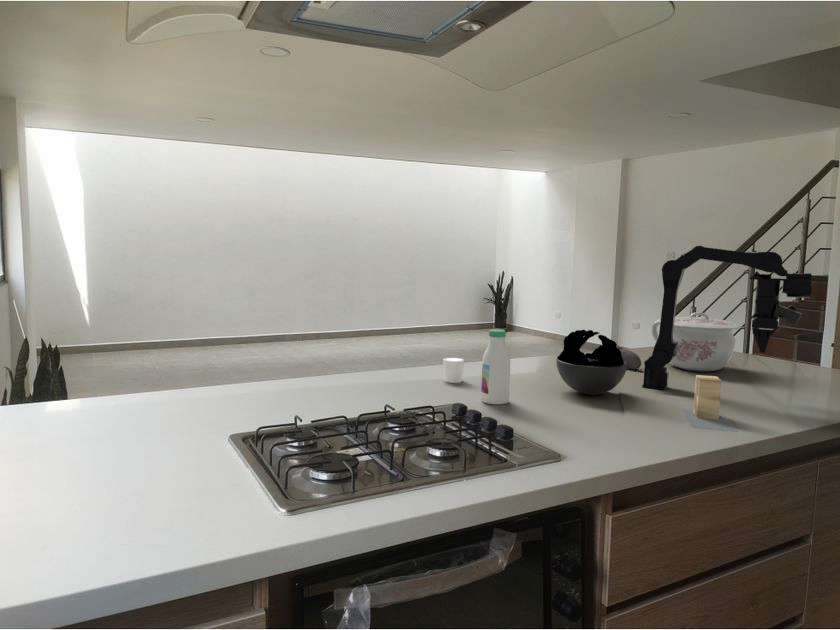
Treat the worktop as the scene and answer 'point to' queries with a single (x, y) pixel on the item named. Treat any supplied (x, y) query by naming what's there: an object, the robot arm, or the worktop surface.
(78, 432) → the worktop surface
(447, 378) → the white cup
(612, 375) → the coal bowl
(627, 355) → the perforated stone tool
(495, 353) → the milk bottle
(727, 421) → the slate mat
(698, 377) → the letter block
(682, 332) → the chamber pot
